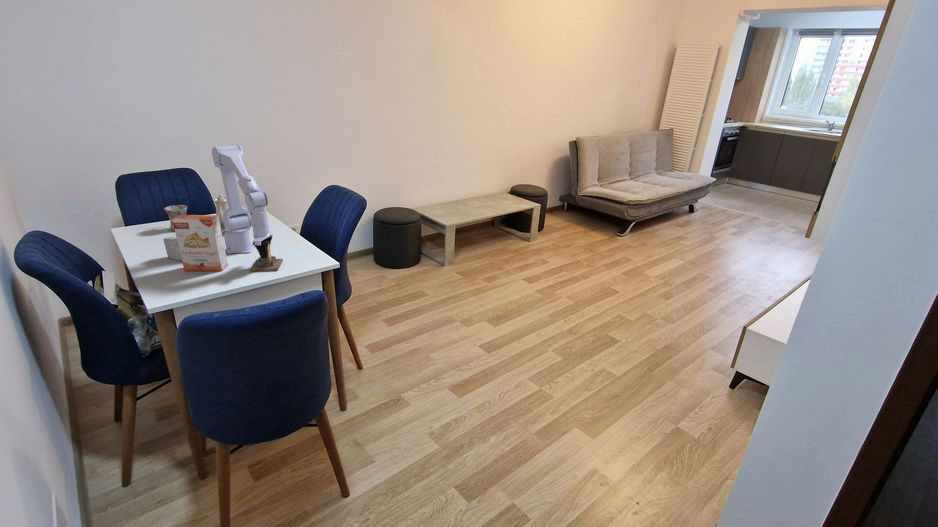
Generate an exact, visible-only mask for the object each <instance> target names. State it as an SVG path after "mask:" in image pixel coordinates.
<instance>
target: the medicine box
mask: <svg viewBox="0 0 938 527" xmlns="http://www.w3.org/2000/svg"><path fill="white" fill-rule="evenodd" d="M163 244H164V248H165V250H166V255H167V259H169V258H170V259H171V260H176V261H182V258H181V254H180V250H179V246H178V241H177V237H176V235H170V236H166V237H165V238H163Z"/></svg>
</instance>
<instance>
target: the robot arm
mask: <svg viewBox="0 0 938 527" xmlns="http://www.w3.org/2000/svg"><path fill="white" fill-rule="evenodd" d="M211 156H212V159H213V164H214V166H215V168H219V171H220V174H221V178H222V182H223V187H224V192H225V196H226V197H225V198H227V202H228V206H229V208H228V209H227V210H226V211H225V212H224V213H223V223H224V227H225V229H226V231H225V229H224V233H223V241H224V246H225V252H226V254H247V253H249V254H250V253H252V251H253V250H254V248H255V249H256V250H257V252H258V254H259V257H261V258H267V256H268V244H269V245H270V246H271V244H272V240H273V236H274V232H271V231H270V227H269V225H270V224H269V219H268V212H267V206H268V204H269V201H268V200H269V199H268V197H267V196H268V195H267V194H266V192H265V190H263V189H262V188H260V187H259V185H258V184H257V182H256V180H255V178H254V177H253V176H252V175H249V173H248V171H247V169H246V166H245V164H244V158H245V153H244V150H243V147H242V146H241V145H240V144H234V145H232V144H231V145H222V146H216V145H215V146H213V147H212V149H211ZM237 178H238V181H237ZM238 186H239V187H238ZM239 188H240V189H241V191H242V193H243V195H244V200H245V205H246V207H247V208H245V207H243V206H242V202H241V197H240V191H239ZM247 209H248V210H247ZM249 212H250V213H249ZM243 213H244V214H243ZM238 214H239V215H238ZM251 228H252V237H253V239H254V240H253V241H252V240H251V234H250V231H251Z"/></svg>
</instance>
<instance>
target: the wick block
mask: <svg viewBox="0 0 938 527" xmlns="http://www.w3.org/2000/svg"><path fill="white" fill-rule="evenodd" d="M271 256H272V252H271V244H270V245H269V244H268V256H267V258H261V261H271V260H272V258H271Z"/></svg>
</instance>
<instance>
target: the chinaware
mask: <svg viewBox="0 0 938 527" xmlns="http://www.w3.org/2000/svg"><path fill="white" fill-rule="evenodd" d="M213 201H214V204H215V207H216V213H215V215H218V216H219V222H220V227H221V230H224V232H225V231H227V230H226V229H225V227H224V223H223V213H224V212H225V211H226V210H227V209H228V208H229V206H228V202H227V197H225V196H223V194H219V195H218V197H217V198H216V199H213ZM246 209H247V210H248V208H246ZM249 213H250V212H249ZM243 214H244V213H243ZM238 215H239V214H238Z"/></svg>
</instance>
